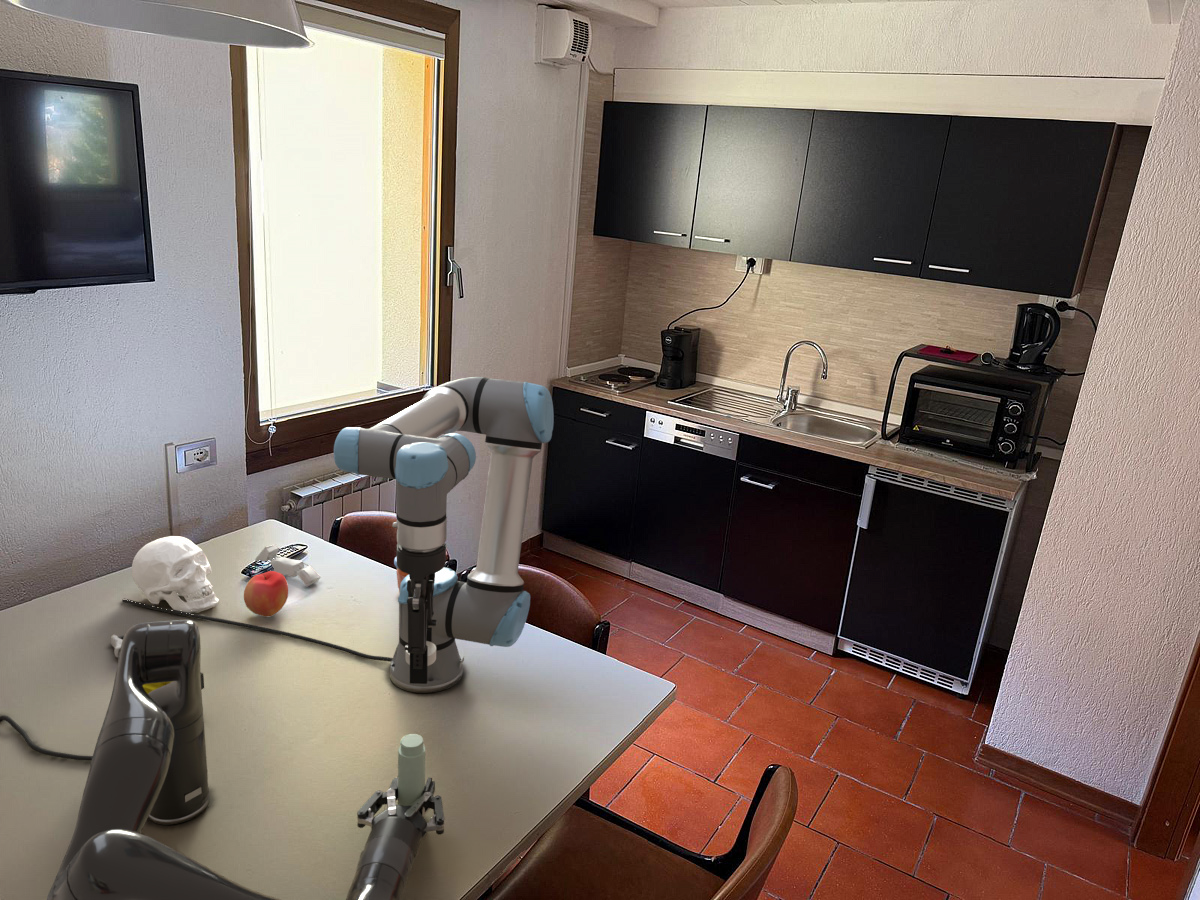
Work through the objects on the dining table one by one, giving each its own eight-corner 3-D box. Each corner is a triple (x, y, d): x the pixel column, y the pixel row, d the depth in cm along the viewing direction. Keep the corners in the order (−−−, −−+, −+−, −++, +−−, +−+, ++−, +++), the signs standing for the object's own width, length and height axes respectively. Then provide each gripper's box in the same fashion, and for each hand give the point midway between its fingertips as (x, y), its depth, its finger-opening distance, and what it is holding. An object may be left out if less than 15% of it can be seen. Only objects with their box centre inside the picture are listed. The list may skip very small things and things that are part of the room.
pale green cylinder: (405, 814, 142) (406, 729, 137) (428, 820, 141) (430, 735, 136) (392, 831, 138) (393, 745, 134) (416, 838, 137) (418, 751, 133)
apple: (273, 600, 207) (272, 562, 204) (297, 613, 202) (296, 575, 199) (237, 614, 200) (234, 575, 197) (261, 628, 194) (259, 588, 191)
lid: (432, 668, 136) (432, 658, 136) (402, 666, 136) (402, 655, 136) (438, 651, 141) (439, 641, 140) (409, 649, 141) (409, 639, 140)
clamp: (253, 565, 223) (254, 542, 221) (265, 560, 226) (266, 537, 224) (309, 593, 215) (310, 569, 213) (320, 588, 218) (321, 564, 216)
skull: (197, 623, 194) (195, 558, 190) (119, 603, 200) (115, 540, 196) (237, 600, 207) (236, 539, 203) (163, 582, 212) (160, 522, 208)
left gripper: (339, 875, 125) (372, 795, 142) (435, 883, 125) (458, 803, 142) (338, 833, 123) (372, 757, 140) (436, 842, 123) (459, 765, 139)
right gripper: (405, 518, 140) (405, 642, 147) (386, 568, 123) (388, 705, 131) (451, 520, 141) (449, 643, 148) (439, 570, 124) (437, 706, 131)
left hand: (415, 781), depth 140 cm, fingers closed on pale green cylinder, 4 cm apart
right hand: (420, 672), depth 139 cm, fingers closed on lid, 5 cm apart
